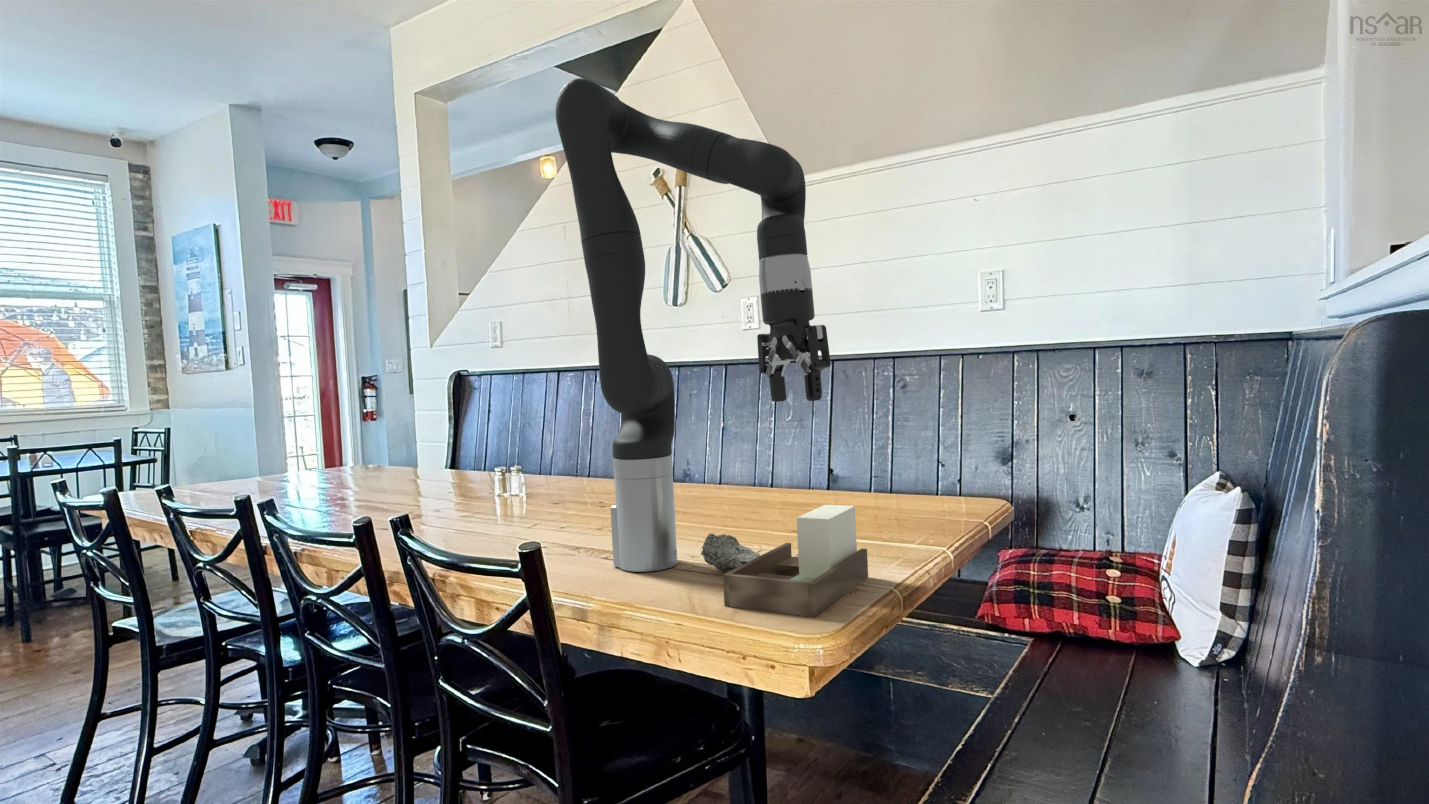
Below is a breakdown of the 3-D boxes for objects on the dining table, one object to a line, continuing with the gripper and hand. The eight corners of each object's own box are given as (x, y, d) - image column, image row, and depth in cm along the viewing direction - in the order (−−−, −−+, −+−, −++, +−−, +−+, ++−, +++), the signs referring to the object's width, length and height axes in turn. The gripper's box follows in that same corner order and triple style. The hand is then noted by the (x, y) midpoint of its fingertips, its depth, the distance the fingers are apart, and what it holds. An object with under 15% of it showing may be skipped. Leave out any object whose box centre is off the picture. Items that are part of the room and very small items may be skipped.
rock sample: (755, 554, 109) (726, 509, 114) (715, 588, 110) (688, 542, 115) (787, 569, 117) (758, 526, 122) (749, 601, 118) (723, 557, 123)
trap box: (724, 605, 98) (722, 574, 98) (787, 569, 115) (786, 542, 114) (815, 617, 92) (814, 584, 92) (868, 577, 108) (867, 548, 108)
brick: (799, 577, 103) (796, 517, 102) (827, 559, 111) (825, 504, 111) (831, 580, 100) (828, 519, 100) (857, 562, 109) (855, 505, 109)
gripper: (738, 297, 116) (748, 404, 116) (794, 282, 103) (805, 402, 104) (778, 295, 119) (788, 399, 120) (837, 281, 107) (848, 397, 108)
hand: (796, 401), depth 112 cm, fingers open, 8 cm apart
